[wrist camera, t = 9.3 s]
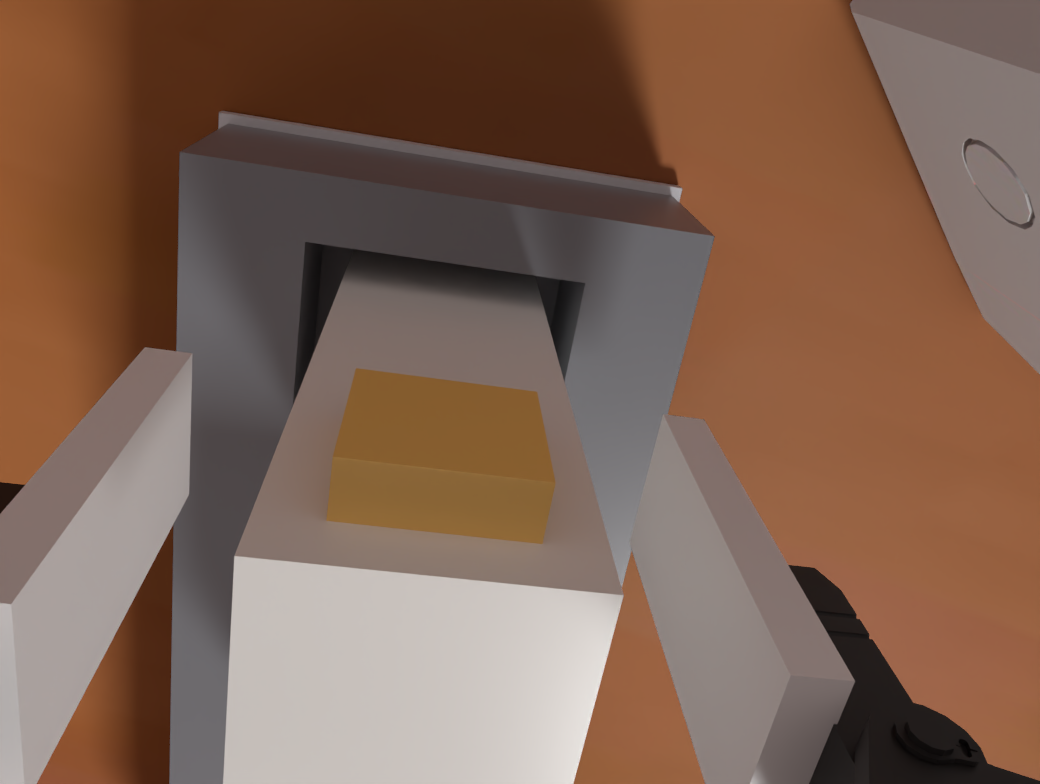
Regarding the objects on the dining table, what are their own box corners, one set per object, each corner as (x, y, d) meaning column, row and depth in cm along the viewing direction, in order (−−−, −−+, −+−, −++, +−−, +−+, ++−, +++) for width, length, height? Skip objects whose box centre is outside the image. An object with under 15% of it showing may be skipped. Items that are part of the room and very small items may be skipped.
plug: (539, 234, 20) (640, 532, 9) (504, 423, 22) (553, 857, 11) (360, 207, 19) (238, 486, 8) (340, 403, 21) (220, 836, 10)
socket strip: (679, 185, 21) (727, 227, 17) (508, 892, 30) (515, 1014, 27) (221, 110, 19) (167, 138, 16) (195, 874, 29) (158, 1001, 25)
